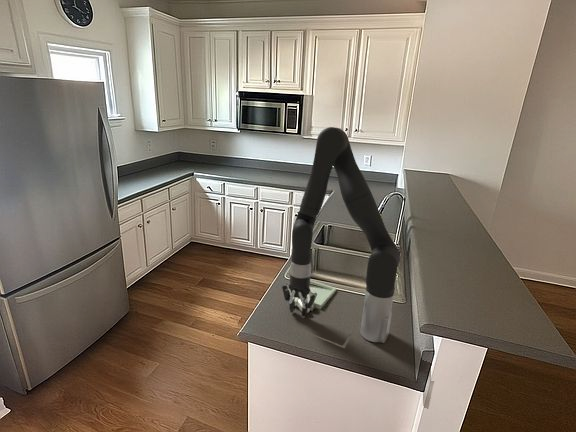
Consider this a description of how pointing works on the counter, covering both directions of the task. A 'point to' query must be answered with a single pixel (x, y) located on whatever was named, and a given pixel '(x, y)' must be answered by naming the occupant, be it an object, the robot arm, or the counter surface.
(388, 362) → the counter surface
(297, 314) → the counter surface
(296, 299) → the pipe fitting
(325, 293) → the tray
